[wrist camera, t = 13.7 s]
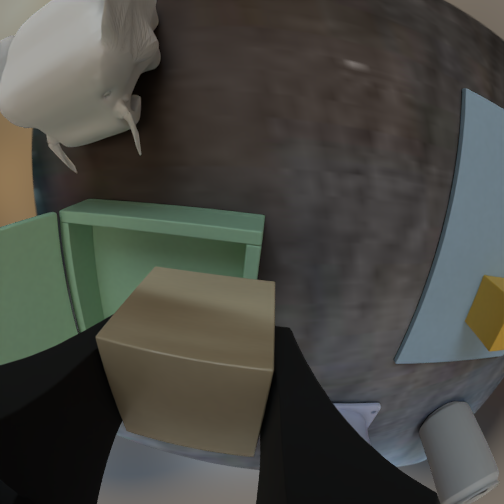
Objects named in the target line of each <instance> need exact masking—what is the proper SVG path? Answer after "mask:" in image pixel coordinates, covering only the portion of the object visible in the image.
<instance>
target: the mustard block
mask: <svg viewBox="0 0 504 504" xmlns="http://www.w3.org/2000/svg"><path fill="white" fill-rule="evenodd" d="M465 322H466V324H467V325H468V326H469V327H470V328H471V330H472V331H473V332H474V333H475V334H476V336H477V337H478V338H479V339H480V341H481V342H482V343H483V345H484V346H485V347H486V348H487V350H488V351H489V352H491V351H500V350H504V278H501V277H494V276H487V275H484V276H483V278H482V281H481V284H480V286H479V289H478V291H477V294H476V296H475V299H474V301H473V304H472V306H471V308H470V310H469V313H468V315H467V317H466V319H465Z"/></svg>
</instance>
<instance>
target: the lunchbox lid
mask: <svg viewBox="0 0 504 504" xmlns="http://www.w3.org/2000/svg"><path fill="white" fill-rule="evenodd" d="M77 334H78V332H77V329H76V325H75V321H74V317H73V313H72V309H71V304H70V300H69V295H68V290H67V285H66V280H65V275H64V269H63V263H62V256H61V249H60V241H59V233H58V223H57V214H56V213H55V212H50V213H46V214H42V215H39V216H35V217H32V218H29V219H25V220H22V221H19V222H15V223H13V224H9V225H6V226H3V227H0V365H2V364H6V363H9V362H13V361H16V360H19V359H23V358H26V357H29V356H32V355H34V354H37V353H39V352H42V351H44V350H47V349H49V348H51V347H53V346H56V345H58V344H60V343H62V342H64V341H66V340H67V339H69V338H71V337H73V336H75V335H77Z"/></svg>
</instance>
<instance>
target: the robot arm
mask: <svg viewBox="0 0 504 504" xmlns="http://www.w3.org/2000/svg"><path fill="white" fill-rule="evenodd" d="M112 316H113V315H111V316H109V317H107V318H106V319H104V320H102V321H100V322H99V323H97V324H95V325H93V326H92V327H90V328H88V329H86V330H85V331H83V332H81V333H79V334H77V335H75V336H73V337H71V338H69V339H67V340H66V341H64V342H62V343H60V344H58V345H56V346H53V347H51V348H49V349H47V350H44V351H42V352H39V353H37V354H34V355H32V356H29V357H26V358H23V359H19V360H16V361H13V362H9V363H6V364H2V365H0V504H97V500H98V495H99V490H100V486H101V482H102V478H103V474H104V470H105V467H106V463H107V460H108V456H109V453H110V450H111V447H112V444H113V442H114V439H115V436H116V433H117V431H118V429H119V427H120V424H121V423H122V421H123V420H122V418H121V415H120V413H119V410H118V407H117V405H116V402H115V399H114V397H113V394H112V391H111V388H110V385H109V382H108V379H107V376H106V373H105V370H104V366H103V363H102V360H101V356H100V353H99V349H98V346H97V342H96V335H97V334H98V333H99V332H100V330H101V329H102V328H103V327H104V325H105V324H106V323H107V322H108V320H109V319H110V318H111V317H112ZM380 408H381V406H380V403H332V401H331V400H330V399H329V397H328V396H327V394H326V393H325V391H324V390H323V388H322V387H321V385H320V384H319V382H318V381H317V379H316V378H315V376H314V374H313V372H312V371H311V369H310V367H309V365H308V364H307V362H306V360H305V358H304V356H303V354H302V352H301V350H300V348H299V346H298V344H297V342H296V340H295V338H294V335H293V333H292V331H291V329H290V328H288V327H278V326H275V342H274V372H273V377H272V382H271V386H270V391H269V396H268V400H267V404H266V409H265V413H264V418H263V422H262V426H261V430H260V452H261V455H260V473H259V483H258V492H257V501H256V504H440V501H439V498H438V496H437V493H436V492H434V491H432V490H431V489H429V488H427V487H426V486H424V485H422V484H421V483H419V482H417V481H416V480H414V479H412V478H411V477H409V476H408V475H406V474H405V473H403V472H402V471H401V470H399V469H398V468H397V467H395V466H394V465H393V464H391V463H390V462H389V461H388V460H386V459H385V458H384V457H383V456H382V455H381V454H380V453H378V452H377V451H376V450H375V449H374V448H373V447H372V446H371V444H370V440H369V435H368V431H367V428H368V427H369V425H370V424H371V422H372V421H373V419H374V418H375V416H376V415H377V413H378V412H379V410H380Z"/></svg>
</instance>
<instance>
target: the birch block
mask: <svg viewBox="0 0 504 504" xmlns="http://www.w3.org/2000/svg"><path fill="white" fill-rule="evenodd" d="M96 342H97V346H98V349H99V353H100V356H101V360H102V363H103V366H104V370H105V373H106V376H107V379H108V382H109V385H110V388H111V391H112V394H113V397H114V399H115V402H116V405H117V407H118V410H119V413H120V415H121V418H122V420H123V423H124V425H125V427H126V430H127V431H129V432H132V433H135V434H138V435H142V436H145V437H149V438H152V439H156V440H160V441H164V442H168V443H172V444H176V445H181V446H185V447H190V448H195V449H200V450H206V451H212V452H218V453H224V454H232V455H240V456H249V457H254V455H255V451H256V447H257V443H258V439H259V434H260V430H261V426H262V422H263V418H264V413H265V409H266V404H267V400H268V396H269V391H270V386H271V382H272V377H273V372H274V342H275V282H273V281H264V280H256V279H248V278H239V277H231V276H223V275H216V274H208V273H200V272H193V271H185V270H178V269H171V268H164V267H157V266H156V267H154V268H153V269H152V270H151V272H150V273H149V274H148V275H147V276H146V277H145V278H144V279H143V281H142V282H141V283H140V284H139V285H138V286H137V287H136V289H135V290H134V291H133V292H132V293H131V294H130V296H129V297H128V298H127V299H126V300H125V301H124V303H123V304H122V305H121V306H120V307H119V308H118V310H117V311H116V312H115V313H114V314H113V316H112V317H111V318H110V319H109V320H108V322H107V323H106V324H105V325H104V327H103V328H102V329H101V330H100V332H99V333H98V334H97V335H96Z"/></svg>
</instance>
